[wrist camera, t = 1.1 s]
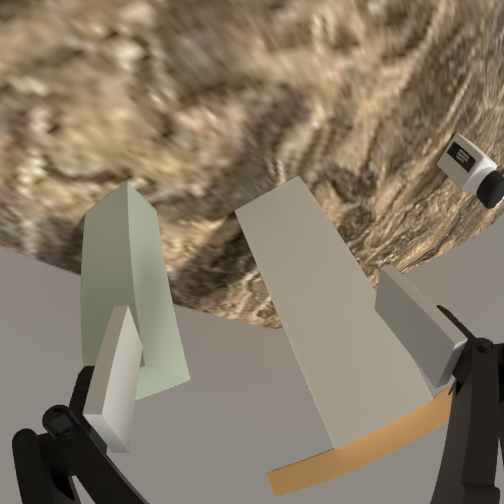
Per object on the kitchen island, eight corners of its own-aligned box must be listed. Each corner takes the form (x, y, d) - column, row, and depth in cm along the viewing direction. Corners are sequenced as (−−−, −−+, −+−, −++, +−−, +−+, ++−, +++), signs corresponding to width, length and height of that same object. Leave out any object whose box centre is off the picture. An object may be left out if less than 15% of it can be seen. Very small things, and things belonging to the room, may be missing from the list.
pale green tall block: (85, 212, 34) (85, 389, 21) (127, 181, 34) (145, 365, 20) (115, 237, 39) (132, 401, 26) (156, 210, 38) (190, 379, 25)
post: (234, 210, 43) (334, 449, 23) (298, 175, 41) (433, 399, 22) (256, 240, 49) (344, 442, 30) (312, 210, 48) (422, 402, 28)
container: (435, 164, 48) (481, 212, 41) (455, 131, 43) (506, 177, 36) (452, 171, 52) (494, 215, 44) (471, 142, 47) (516, 184, 39)
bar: (266, 473, 26) (275, 496, 25) (454, 384, 24) (466, 408, 22) (275, 469, 29) (283, 491, 27) (448, 387, 26) (459, 409, 24)
